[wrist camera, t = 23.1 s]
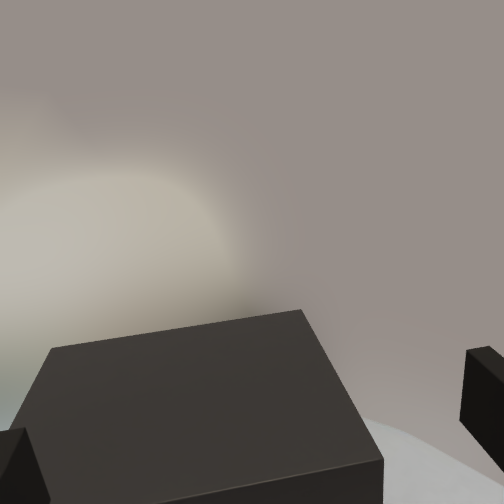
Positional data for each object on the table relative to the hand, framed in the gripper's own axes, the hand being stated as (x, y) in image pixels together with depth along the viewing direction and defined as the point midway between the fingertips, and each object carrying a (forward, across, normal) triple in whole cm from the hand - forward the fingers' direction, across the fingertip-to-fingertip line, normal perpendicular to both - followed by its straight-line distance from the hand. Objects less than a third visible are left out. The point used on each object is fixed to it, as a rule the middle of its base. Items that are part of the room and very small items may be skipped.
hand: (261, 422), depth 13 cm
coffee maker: (+9, -3, -26) cm, 28 cm away
